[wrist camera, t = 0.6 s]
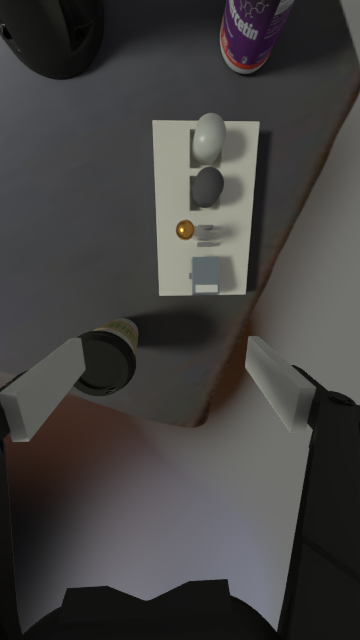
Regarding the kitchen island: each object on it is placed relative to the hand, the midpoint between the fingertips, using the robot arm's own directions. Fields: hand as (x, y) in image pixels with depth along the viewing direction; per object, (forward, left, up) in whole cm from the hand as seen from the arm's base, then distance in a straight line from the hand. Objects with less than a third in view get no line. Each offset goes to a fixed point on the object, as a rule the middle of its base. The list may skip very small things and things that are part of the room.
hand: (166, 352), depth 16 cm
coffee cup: (+7, -10, -25) cm, 28 cm away
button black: (-18, +6, -22) cm, 29 cm away
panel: (-14, +6, -25) cm, 29 cm away
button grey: (-24, +6, -22) cm, 33 cm away
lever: (-11, +6, -21) cm, 25 cm away
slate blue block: (-5, +6, -20) cm, 21 cm away
